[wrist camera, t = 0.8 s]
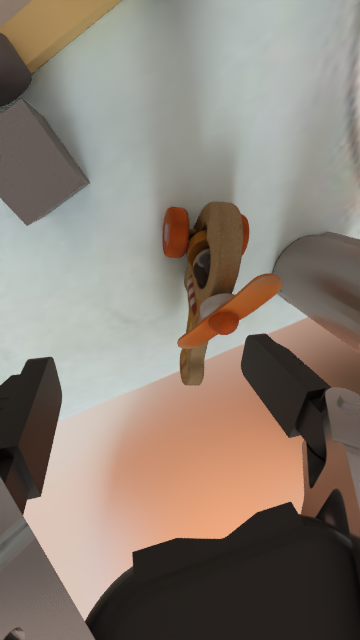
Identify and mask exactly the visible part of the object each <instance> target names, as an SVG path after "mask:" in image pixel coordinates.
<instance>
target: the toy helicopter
mask: <svg viewBox="0 0 360 640" xmlns="http://www.w3.org/2000/svg"><path fill="white" fill-rule="evenodd" d="M248 239H249V224H248V220H247V218H246V217H245V216H244V215H242V214H240V211H239V209H238V208H237V206H235V205H234V204H232V203H227V202H210V203H208V204H207V205H206V206H205V207H204V208H203V209H202V211H201V213H200V215H199V217H198V219H197V222H196V223H195V226H194V229H190V228H189V217H188V213H187V211H186V210H185V209H183V208H176V207H170V208H168V209H167V211H166V214H165V218H164V225H163V251H164V254H165V256H167V257H170V258H180V257H182V256H183V255H184V254H185V253H187V258H188V267H187V271H186V274H185V278H184V285H185V288H186V290H187V293H188V303H189V315H188V323H187V330H186V334H184V335H183V336H182V337H181V338H179V340H178V342H177V343H178V346H179V347H181V348H183V349H182V351H181V354H180V373H181V379H182V382H183V383H184V384H185V385H200V384H201V383H202V380H203V376H204V358H205V353H206V349H207V344H208V341H209V340H210V339H211V338H213V337H214V336H216V335H218V334H220V335H228V334H230V333H232V332H234V331H235V330H236V328H237V326H238V323H239V320H241V319H242V318H244V317H246V316H247V315H249V314H250V313H252V312H253V311H255V310H256V309H257V308H259V307H260V306H261V305H263V304H264V303H265V302H267V301H268V300H269V299H271V298H272V297H273V296H274V295H276V293H277V292H278V291H279V290H280V288H281V285H282V281H281V279H280V278H279V276H277V275H275V274H271V273H270V274H263V275H260V276H257V277H256V278H254V279H253V280H252V281H250V282H249V283H248V284H247V285H246V286H245V287H244V288H243V289H242V290H241V291H239V292H238V293H237V294H236V295H234V294H232V292H233V289H234V286H235V283H236V280H237V277H238V273H239V268H240V263H241V256H242V255H243V254H244V252H245V250H246V247H247V244H248ZM188 241H189V242H188Z"/></svg>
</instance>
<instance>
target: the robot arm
mask: <svg viewBox="0 0 360 640" xmlns="http://www.w3.org/2000/svg"><path fill="white" fill-rule="evenodd" d="M273 274H275V275H277V276H279V278H280V279H281V281H282V285H281V288H280V290H279V291H278V292H277V294H278V295H279V296H280V297H282V298H283V299H284V300H286V301H287V302H288V303H290V304H292V305H293V306H294V307H296V308H297V309H298V310H300V311H301V312H302V313H304V314H305V315H307V316H308V317H309V318H311V319H312V320H314V321H315V322H316V323H318V324H319V325H321V326H322V327H323V328H325V329H326V330H328V331H329V332H330V333H332V334H333V335H334V336H336V337H337V338H339V339H340V340H341V341H343V342H344V343H346V344H347V345H348V346H350V347H351V348H353V349H354V350H355V351H357V352H358V353H360V240H359V239H355V238H351V237H348V236H344V235H340V234H336V233H332V232H327V233H325V234H324V235H309V236H305V237H302V238H300V239H298V240H296V241H295V242H293V243H292V244H291V245H290V246H288V247H287V248H286V249H285V251H284V252H283V253H282V254H281V256H280V257H279V259H278V261H277V263H276V265H275V268H274V271H273ZM241 369H242V373H243V375H244V377H245V378H246V380H247V381H248V382H249V384H250V385H251V386H252V388H253V389H254V391H255V392H256V393H257V395H258V396H259V397H260V399H261V400H262V402H263V403H264V404H265V405H266V407H267V408H268V410H269V411H270V413H271V414H272V415H273V417H274V418H275V419H276V421H277V422H278V423H279V425H280V426H281V428H282V429H283V430H284V432H285V433H286V435H287V436H288V437H289V438H291V437H295V436H299V435H301V436H302V437H303V438H304V441H303V443H302V455H303V475H304V501H303V506H302V511H301V514H298V513H297V511H296V509H295V508H294V506H293V504H292V503H291V502H288V503H285V504H282V505H279V506H276V507H273V508H269V509H267V510H263V511H260V512H257V513H256V514H255V515H253V516H252V517H251V518H249V519H248V520H247V521H246V522H245V523H243V524H242V525H241V526H240V527H238V528H237V529H236V530H234V531H233V532H232V533H231V534H229V535H228V536H227V537H225V538H223V539H193V538H175V539H172V540H169V541H166V542H163V543H160V544H157V545H153V546H150V547H147V548H144V549H141V550H138V551H135V552H133V567H131V568H130V569H128V570H127V571H126V572H124V573H123V574H122V575H121V576H120V577H119V578H118V579H116V580H115V581H114V582H113V583H112V584H111V585H110V587H109V588H108V589H107V590H106V591H105V592H104V594H103V595H102V596H101V597H100V599H99V600H98V602H97V603H96V604H95V606H94V607H93V609H92V610H91V612H90V613H89V615H88V617H87V619H86V620H85V621H84V620H83V618H82V616H81V615H80V613H79V611H78V609H77V608H76V606H75V604H74V603H73V601H72V599H71V597H70V596H69V594H68V592H67V590H66V589H65V587H64V585H63V583H62V582H61V580H60V578H59V577H58V575H57V573H56V571H55V570H54V568H53V566H52V565H51V563H50V561H49V559H48V558H47V556H46V555H45V552H44V551H43V549H42V547H41V545H40V544H39V542H38V540H37V539H36V537H35V535H34V533H33V532H32V530H31V528H30V527H29V525H28V524H27V522H26V520H25V519H24V517H23V513H24V509H25V505H26V501H27V500H28V499H32V498H36V497H40V496H41V493H42V489H43V484H44V480H45V475H46V471H47V466H48V462H49V457H50V453H51V448H52V444H53V439H54V435H55V430H56V426H57V421H58V417H59V413H60V408H61V403H62V390H61V385H60V382H59V378H58V374H57V370H56V366H55V362H54V359H53V358H52V357H44V358H35V359H28V360H27V362H26V364H25V366H24V368H23V370H22V372H21V374H19V375H12V376H10V377H9V378H8V379H7V380H6V381H5V382H4V383H3V384H2V385H0V640H360V395H358V394H357V393H355V392H353V391H350V390H347V389H344V388H338V387H333V388H332V387H330V386H329V385H328V384H327V383H326V382H325V381H324V380H323V379H321V378H320V377H319V376H318V375H317V374H316V373H315V372H314V371H312V370H311V369H310V368H309V367H308V366H307V365H304V363H303V362H302V361H301V360H300V359H299V358H297V357H296V356H295V355H294V354H293V353H292V352H291V351H290V350H289V349H287V348H285V347H283V346H282V345H280V344H277V343H276V342H274V341H273V340H272V339H271V338H270V337H269V336H268V335H267V334H256V335H249V336H247V338H246V341H245V346H244V351H243V356H242V361H241Z"/></svg>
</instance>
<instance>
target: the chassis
mask: <svg viewBox="0 0 360 640" xmlns="http://www.w3.org/2000/svg"><path fill="white" fill-rule="evenodd" d="M121 1H122V0H0V106H3V105H6V104H8V103H10V102H11V101H13V100H15V99H16V98H17V97H18V96H20V95H21V94H22V93H23V92H24V91H25V89H26V88H27V87H28V85H29V83H30V81H31V77H32V76H31V74H32V73H33V72H34V71H35V70H37V69H38V68H39V67H40V66H42V65H43V64H44V63H45V62H47V61H48V60H49V59H50V58H52V57H53V56H54V55H55V54H56V53H58V52H59V51H60V50H61V49H63V48H64V47H65V46H66V45H68V44H69V43H70V42H71V41H72V40H74V39H75V38H76V37H77V36H79V35H80V34H81V33H82V32H84V31H85V30H86V29H87V28H89V27H90V26H91V25H92V24H93V23H95V22H96V21H97V20H98V19H100V18H101V17H102V16H103V15H105V14H106V13H107V12H108V11H109V10H111V9H112V8H113V7H114V6H116V5H117V4H118V3H119V2H121Z"/></svg>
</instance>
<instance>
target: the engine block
mask: <svg viewBox="0 0 360 640" xmlns="http://www.w3.org/2000/svg"><path fill="white" fill-rule="evenodd" d="M88 184H90V182H89V181H88V179H87V178H86V176H85V175H84V174H83V172H82V171H81V169H80V168H79V167H78V165H77V164H76V162H75V161H74V159H73V158H72V157H71V155H70V154H69V152H68V151H67V150H66V148H65V147H64V145H63V144H62V142H61V141H60V140H59V138H58V137H57V135H56V134H55V132H54V131H53V130H52V128H51V127H50V125H49V124H48V123H47V121H46V120H45V118H44V117H43V116H42V115H41V114H39V113H38V112H37V111H36V110H35V109H34V108H32V107H31V106H30V105H29V104H28V103H26V102H25V101H24V100H23V99H22V98H21V99H20V100H18V101H17V102H16V103H15V104H13V105H12V106H11V107H10V108H9V109H7V110H6V111H5V112H4V113H2V114H1V115H0V198H1V199H2V200H3V201H4V202H5V203H6V204H7V205H8V206H9V207H10V208H11V209H12V211H13V212H14V213H15V214H16V215H17V216H18V217H19V218H20V219H21V220H22V221H23V222H24V223H25V224H26V225H27V226H28V225H30V224H32V223H33V222H35V221H37V220H39V219H41V218H43V217H45V216H46V215H47V214H49V213H50V212H52V211H53V210H54V209H56V208H57V207H58V206H60V205H61V204H62V203H64V202H65V201H67V200H68V199H69V198H71V197H72V196H73V195H75V194H76V193H77V192H79V191H80V190H81V189H83V188H84V187H86V186H87V185H88Z"/></svg>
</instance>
